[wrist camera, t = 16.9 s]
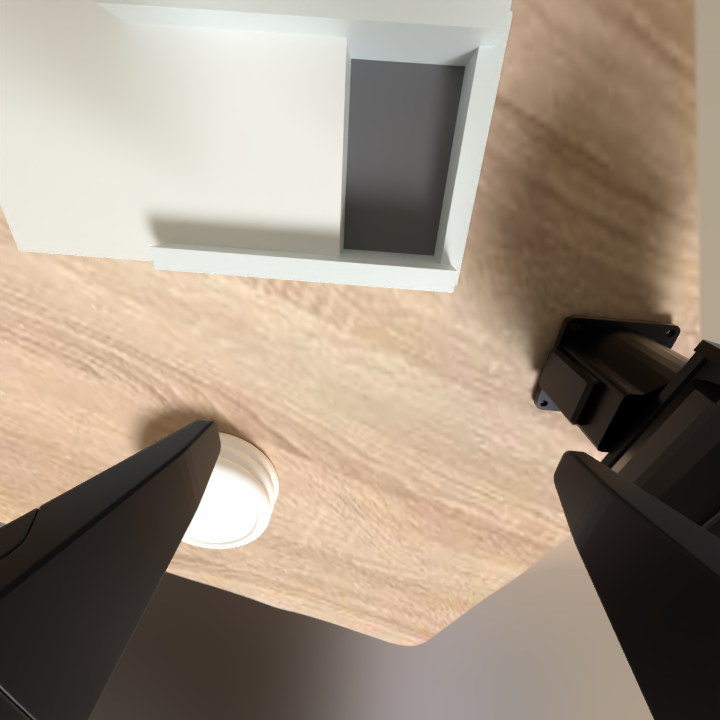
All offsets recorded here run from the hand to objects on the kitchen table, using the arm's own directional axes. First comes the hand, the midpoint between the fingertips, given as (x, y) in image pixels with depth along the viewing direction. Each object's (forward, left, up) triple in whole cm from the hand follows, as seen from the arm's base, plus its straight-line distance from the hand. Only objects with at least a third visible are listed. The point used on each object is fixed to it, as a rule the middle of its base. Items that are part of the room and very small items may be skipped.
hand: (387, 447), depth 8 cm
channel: (+7, -7, -12) cm, 16 cm away
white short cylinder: (+12, +16, -13) cm, 24 cm away
